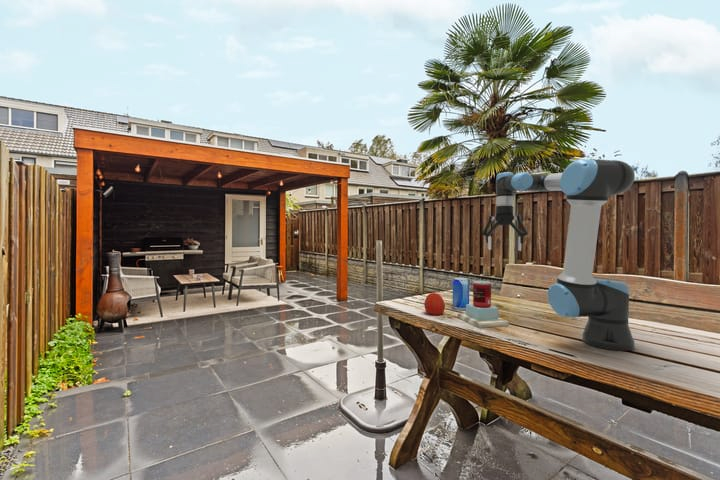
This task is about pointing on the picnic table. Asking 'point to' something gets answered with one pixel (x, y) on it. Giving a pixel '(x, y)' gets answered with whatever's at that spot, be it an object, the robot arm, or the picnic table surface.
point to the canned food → (482, 294)
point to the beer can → (460, 293)
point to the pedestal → (482, 312)
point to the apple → (434, 304)
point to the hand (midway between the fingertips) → (504, 250)
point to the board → (483, 321)
